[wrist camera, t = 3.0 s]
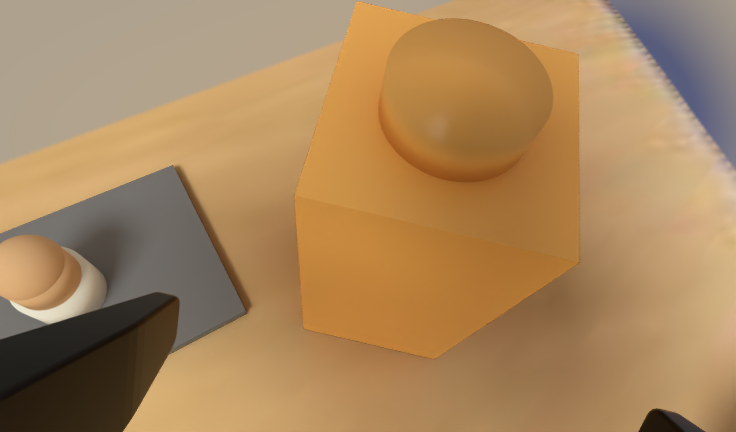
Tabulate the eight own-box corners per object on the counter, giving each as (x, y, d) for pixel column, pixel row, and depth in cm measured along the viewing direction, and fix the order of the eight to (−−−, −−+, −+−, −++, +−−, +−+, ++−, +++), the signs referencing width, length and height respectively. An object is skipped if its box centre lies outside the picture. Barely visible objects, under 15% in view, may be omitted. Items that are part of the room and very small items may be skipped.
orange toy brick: (434, 359, 21) (614, 239, 8) (303, 328, 21) (291, 163, 8) (450, 239, 23) (604, 16, 11) (334, 212, 23) (361, -42, 11)
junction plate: (175, 170, 23) (142, 104, 19) (246, 313, 21) (228, 277, 16) (-102, 281, 20) (-228, 233, 15) (-60, 474, 17) (-197, 487, 12)
